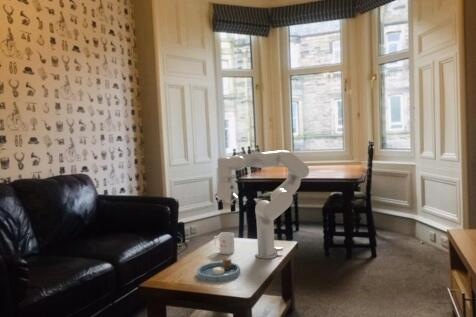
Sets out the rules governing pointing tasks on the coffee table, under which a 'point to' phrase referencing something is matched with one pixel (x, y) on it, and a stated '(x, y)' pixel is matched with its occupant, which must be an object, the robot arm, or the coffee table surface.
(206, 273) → the ring tray
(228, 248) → the mug
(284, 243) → the coffee table surface
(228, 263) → the walnut bead
